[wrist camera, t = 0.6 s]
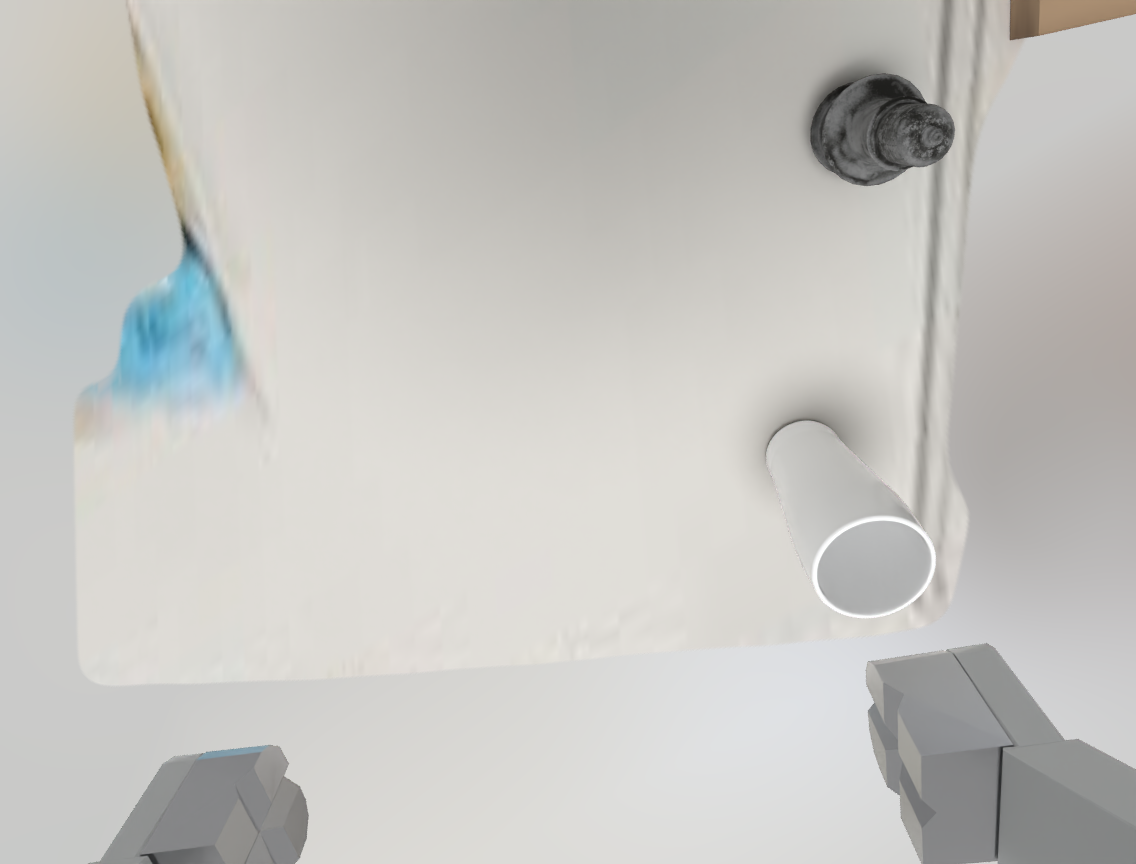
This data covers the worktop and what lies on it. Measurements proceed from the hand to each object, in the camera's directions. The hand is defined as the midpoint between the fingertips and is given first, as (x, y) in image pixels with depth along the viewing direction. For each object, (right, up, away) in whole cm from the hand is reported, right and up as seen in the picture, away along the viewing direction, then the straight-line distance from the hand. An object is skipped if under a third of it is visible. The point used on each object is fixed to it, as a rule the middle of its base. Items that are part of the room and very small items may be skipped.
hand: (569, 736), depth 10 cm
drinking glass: (+17, +3, +44) cm, 47 cm away
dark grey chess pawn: (+17, +23, +35) cm, 45 cm away
